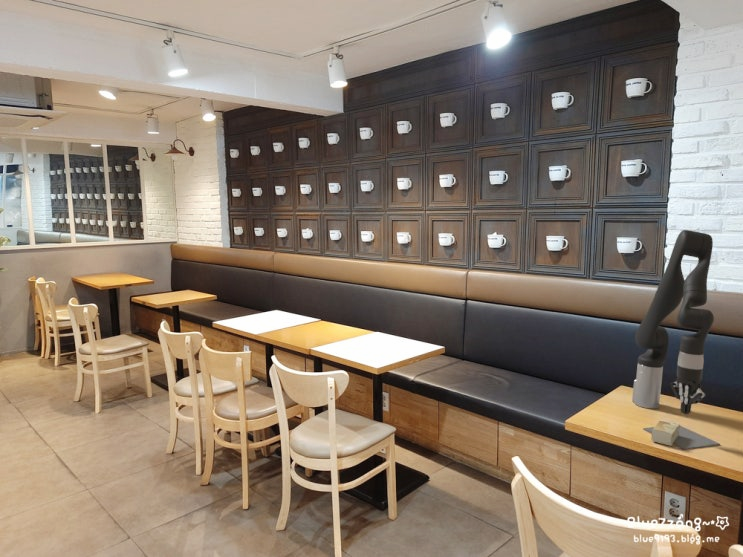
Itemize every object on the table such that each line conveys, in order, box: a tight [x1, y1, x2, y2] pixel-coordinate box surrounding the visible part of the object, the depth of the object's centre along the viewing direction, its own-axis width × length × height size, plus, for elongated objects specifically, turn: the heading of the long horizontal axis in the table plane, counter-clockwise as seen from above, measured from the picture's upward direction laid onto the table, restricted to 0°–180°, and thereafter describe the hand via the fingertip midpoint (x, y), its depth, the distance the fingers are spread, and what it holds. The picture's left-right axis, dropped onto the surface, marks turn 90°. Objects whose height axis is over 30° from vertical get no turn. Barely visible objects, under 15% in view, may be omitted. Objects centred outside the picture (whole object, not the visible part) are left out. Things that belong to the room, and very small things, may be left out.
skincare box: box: [650, 419, 681, 447], centre depth 178 cm, size 6×4×12 cm
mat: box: [642, 425, 721, 451], centre depth 181 cm, size 17×16×1 cm
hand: (685, 413), depth 179 cm, fingers closed
